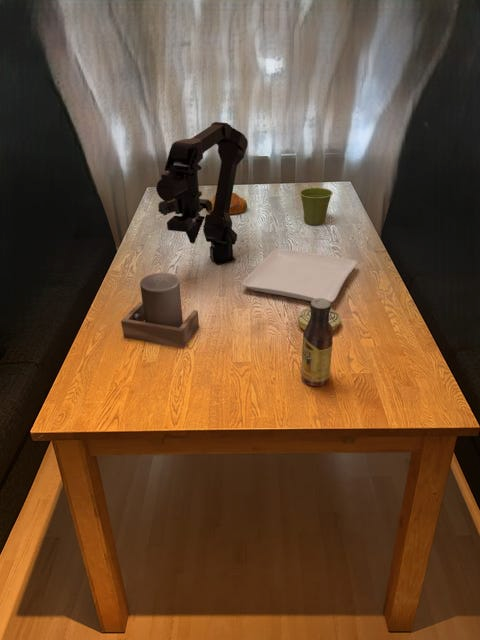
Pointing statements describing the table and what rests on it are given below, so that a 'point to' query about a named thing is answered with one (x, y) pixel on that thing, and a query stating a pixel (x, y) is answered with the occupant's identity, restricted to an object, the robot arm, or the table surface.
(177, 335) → the holder
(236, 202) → the croissant
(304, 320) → the decorated donut
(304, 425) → the table surface
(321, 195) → the plant pot
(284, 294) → the square plate
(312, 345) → the sauce bottle
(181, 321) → the pillar candle
